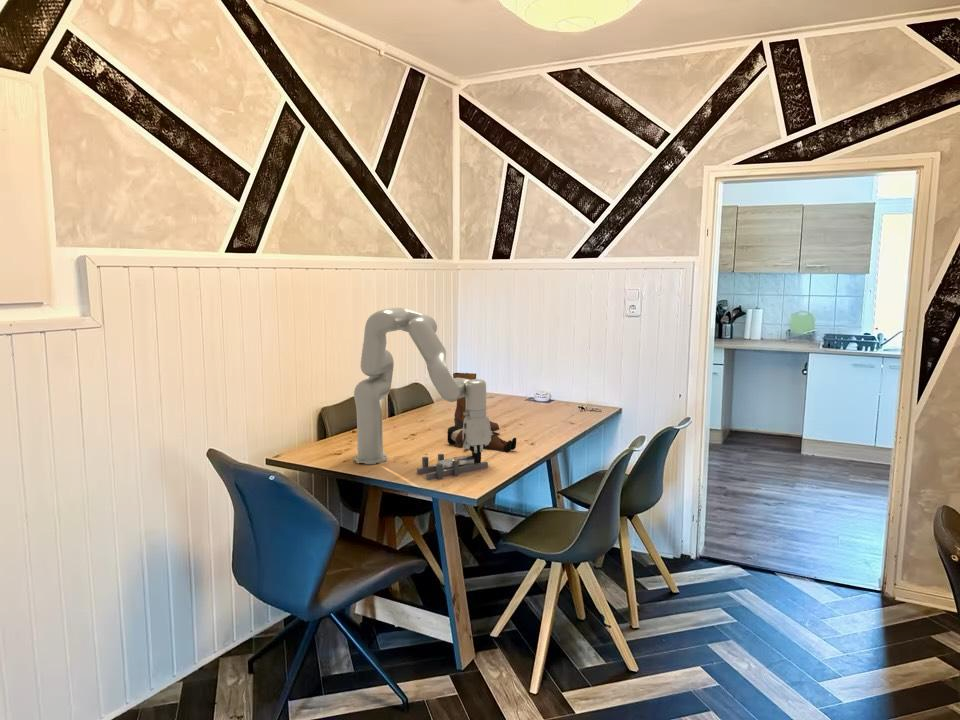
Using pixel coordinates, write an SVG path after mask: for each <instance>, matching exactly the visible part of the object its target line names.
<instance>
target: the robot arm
mask: <svg viewBox="0 0 960 720" xmlns="http://www.w3.org/2000/svg"><path fill="white" fill-rule="evenodd" d="M437 330H438V325H437V322H436V320H435V319H434V318H433V317H431V316H430V315H427V314H423V313H419V312H417V311H413V310H410V309H407V308H405V307H404V308H403V307H394V308H391V307H390V308H384V309H381V310H378V311H375V312H373V314H371V315H370V316H369V317H368V318H367V320H366V321H365V326H364V335H363V342H362V349H361V358H360V359H361V360H360V370H361V372H362V373H363V375H364V376H367V377H368V378H366V379H363V380H361V381H360V382H358V383H357V384H356V386H355V387H354V390H353V391H354V392H353V397H354V403H355V407H356V408H355V409H356V427H357V428H356V431H357V455H355V456H354V458H353V461H354V460H355V461H356V462H359V463H365V464H364V465H377V464H376V463H378V464H382V463H384V462H386V461H387V460H388V456H387V455H386V454H385V453H384V439H383V438H384V437H383V411H382V407H381V403H380V401H381V400H384V399H385V398H386V397H387V396H388V395H389V393H390V391H391V388H392V382H393V375H394V374H393V373H394V365H395V363H394V357H393V355H392V353H391V352H390V351H389V350H388V349H387V348H386V347H387V333H391V332H395V331H401V332H405V333H408V334H409V336H410V339H412V342H413V343H414V344H415V347H416V348H417V350H418V351H419V354H420V355H421V356H422V358H423V360H424V361H425V364H426V368H427V371H428V375H429V378H430V380H431V383H432V384H433V386H434V387H435V389H436V391H437V393H438V394H439V396H440V397H441V398H442V399H443V400H444V401H446V402H449V403H454V402H457V400H458V399H460V398H462V397H466V412H464V413H463V415H464V416H466V417H465V418H464V423H463V443H464V446H463V445H462V448H463V449H466V450H469V451H470V452H471V456H472V457H473V459H474V463H481V462H482V452H483V449H484V447H485V446H487V445H489V442H490V441H491V428H490V422H489V421H490V417H489V416H488V415H487V383H486V381H485V380H483V379H478V378H476V379H472V380H470V379H464V378H454V379H453V375H451V373H450V371H449V369H448V366H447V360H446V359H447V351H446V348H445V346H444V344H442V342H441V340H440V339H439V337H438V335H437V333H436V332H437ZM355 461H354V462H355ZM356 462H355V463H356ZM381 462H382V463H381ZM359 463H358V464H359Z"/></svg>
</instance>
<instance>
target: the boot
mask: <svg viewBox="0 0 960 720" xmlns="http://www.w3.org/2000/svg"><path fill="white" fill-rule="evenodd" d="M452 378H453V379H454V378H464V379H470V380H472V379H477V373H469V372H454V373H453V374H452ZM464 412H466V397H462V398H460V399H458V400H456V406H455V411H454V419H453V420H454V426H458V428H459V429H461V428H463V423H464V418H465V417H466V416H464V415H463V413H464ZM489 422H490V428H491V431H492V432H493V433H494V432H497V431H500V429H501V428H500V426H499V424H498V423H497V422H493V421H491V420H489Z"/></svg>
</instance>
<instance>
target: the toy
mask: <svg viewBox="0 0 960 720" xmlns="http://www.w3.org/2000/svg"><path fill="white" fill-rule="evenodd" d="M447 443H448V444H449V445H455V443H457V444H460V445H462V447H463V446H464V443H463V428H461V429H459V428H458V426H455V425H453V426H450V427H448V428H447ZM516 448H517V437H513V438H512V439H510V440H508V441H507V440H504V439H503V438H501V437H500V436H498V434H496V433H494V432H492V431H491V441H490V442H489V445H487V446H485V447H484V448H483V449H486V450H493V451H494V450H495V451H501V452H504V453H506V454H507V453H510V452H511V451H513V450H515V449H516Z"/></svg>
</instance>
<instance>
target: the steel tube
mask: <svg viewBox="0 0 960 720" xmlns="http://www.w3.org/2000/svg"><path fill="white" fill-rule="evenodd" d="M454 460H457V461H459V467H461V466H466V465H471V464H474V459H473V457H472V454H468V455H463V456H458V457H457V456H454V457H452V458H447V459H445V458H444V460H440V461H438V460H437V462H436V464H439V463H441V464H443V470H447V469H452V461H454Z"/></svg>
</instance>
